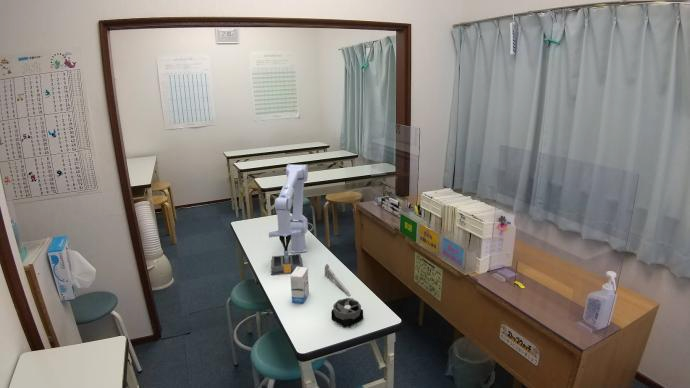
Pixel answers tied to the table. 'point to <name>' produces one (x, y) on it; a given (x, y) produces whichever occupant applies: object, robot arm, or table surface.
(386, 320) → the table surface
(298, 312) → the table surface
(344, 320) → the cpu cooler
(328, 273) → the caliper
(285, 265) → the panel rack
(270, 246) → the table surface
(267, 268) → the table surface
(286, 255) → the panel
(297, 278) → the ink box
